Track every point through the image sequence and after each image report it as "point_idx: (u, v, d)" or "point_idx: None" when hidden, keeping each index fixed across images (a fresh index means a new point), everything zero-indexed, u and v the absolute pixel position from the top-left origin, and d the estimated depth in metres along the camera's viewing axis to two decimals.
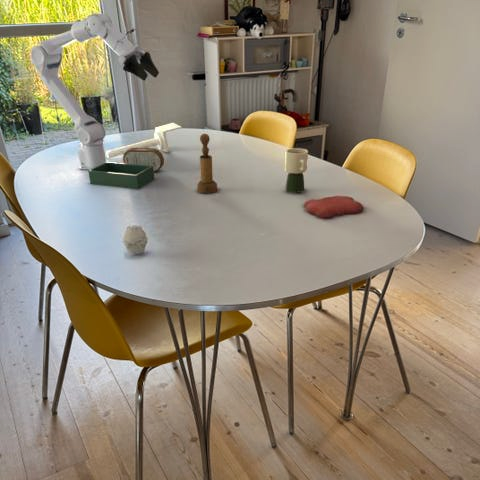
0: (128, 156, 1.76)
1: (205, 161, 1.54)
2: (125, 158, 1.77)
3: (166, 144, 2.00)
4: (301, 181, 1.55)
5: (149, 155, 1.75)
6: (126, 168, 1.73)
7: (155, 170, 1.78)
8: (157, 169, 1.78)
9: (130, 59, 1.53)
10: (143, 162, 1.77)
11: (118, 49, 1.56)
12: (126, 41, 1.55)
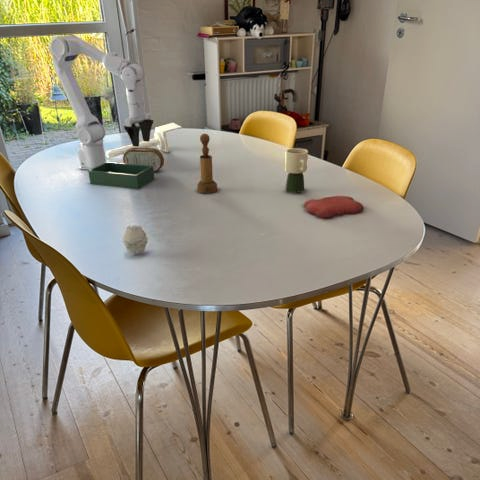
0: (128, 156, 1.76)
1: (205, 161, 1.54)
2: (125, 158, 1.77)
3: (166, 144, 2.00)
4: (301, 181, 1.55)
5: (149, 155, 1.75)
6: (126, 168, 1.73)
7: (155, 170, 1.78)
8: (157, 169, 1.78)
9: (134, 129, 1.66)
10: (143, 162, 1.77)
11: (131, 107, 1.66)
12: (142, 107, 1.66)
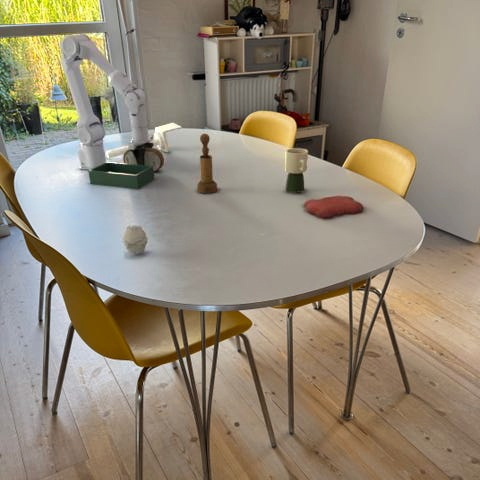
0: (128, 155, 1.77)
1: (205, 161, 1.54)
2: (126, 157, 1.77)
3: (166, 144, 2.00)
4: (301, 181, 1.55)
5: (149, 155, 1.75)
6: (126, 168, 1.73)
7: (155, 170, 1.78)
8: (157, 169, 1.78)
9: (140, 150, 1.72)
10: None
11: (134, 130, 1.70)
12: (145, 131, 1.71)
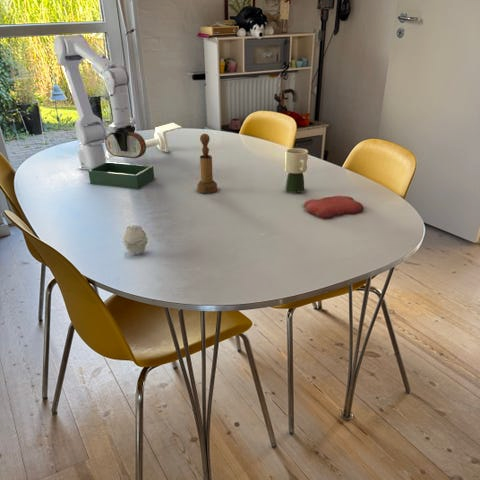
0: (110, 139, 1.67)
1: (205, 161, 1.54)
2: (107, 141, 1.67)
3: (166, 144, 2.00)
4: (301, 181, 1.55)
5: (129, 139, 1.64)
6: (126, 168, 1.73)
7: (135, 156, 1.67)
8: (137, 155, 1.66)
9: (122, 133, 1.61)
10: None
11: (115, 112, 1.59)
12: (126, 113, 1.60)
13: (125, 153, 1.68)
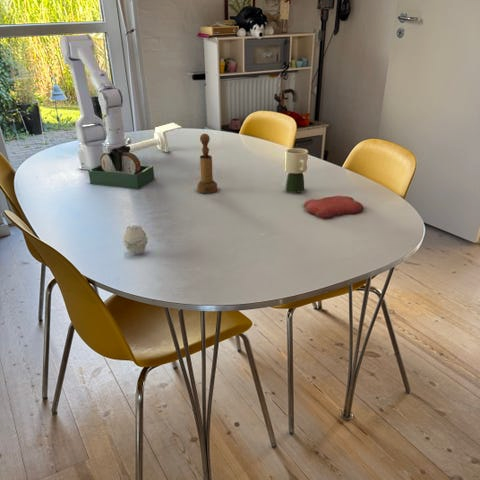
0: (104, 159, 1.67)
1: (205, 161, 1.54)
2: (102, 161, 1.68)
3: (166, 144, 2.00)
4: (301, 181, 1.55)
5: (124, 159, 1.64)
6: None
7: None
8: None
9: (116, 154, 1.61)
10: None
11: (109, 133, 1.59)
12: (121, 133, 1.60)
13: None
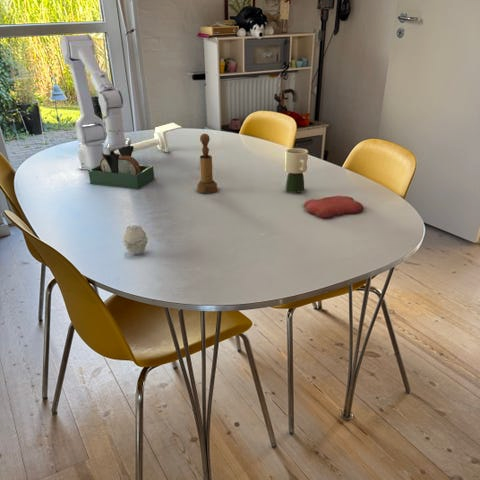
0: (104, 162, 1.67)
1: (205, 161, 1.54)
2: (102, 164, 1.68)
3: (166, 144, 2.00)
4: (301, 181, 1.55)
5: (124, 163, 1.65)
6: None
7: None
8: None
9: (113, 156, 1.60)
10: (119, 170, 1.67)
11: (109, 134, 1.59)
12: (121, 134, 1.60)
13: None
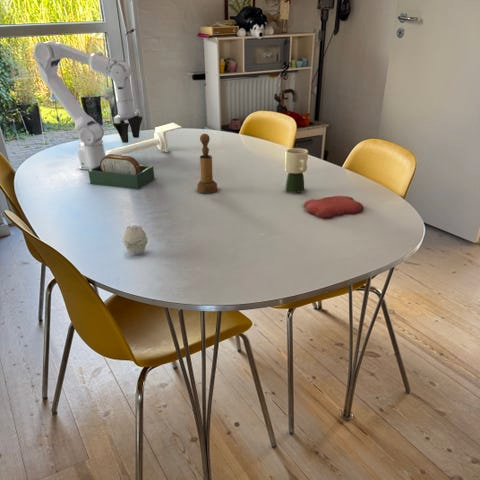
0: (104, 162, 1.67)
1: (205, 161, 1.54)
2: (102, 164, 1.68)
3: (166, 144, 2.00)
4: (301, 181, 1.55)
5: (124, 163, 1.65)
6: None
7: None
8: None
9: (123, 125, 1.69)
10: (119, 170, 1.67)
11: (119, 104, 1.69)
12: (130, 104, 1.70)
13: None
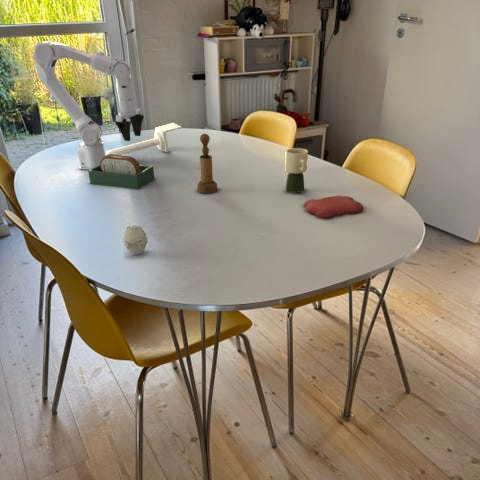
0: (104, 162, 1.67)
1: (205, 161, 1.54)
2: (102, 164, 1.68)
3: (166, 144, 2.00)
4: (301, 181, 1.55)
5: (124, 163, 1.65)
6: None
7: None
8: None
9: (125, 123, 1.72)
10: (119, 170, 1.67)
11: (121, 103, 1.71)
12: (132, 103, 1.72)
13: None
